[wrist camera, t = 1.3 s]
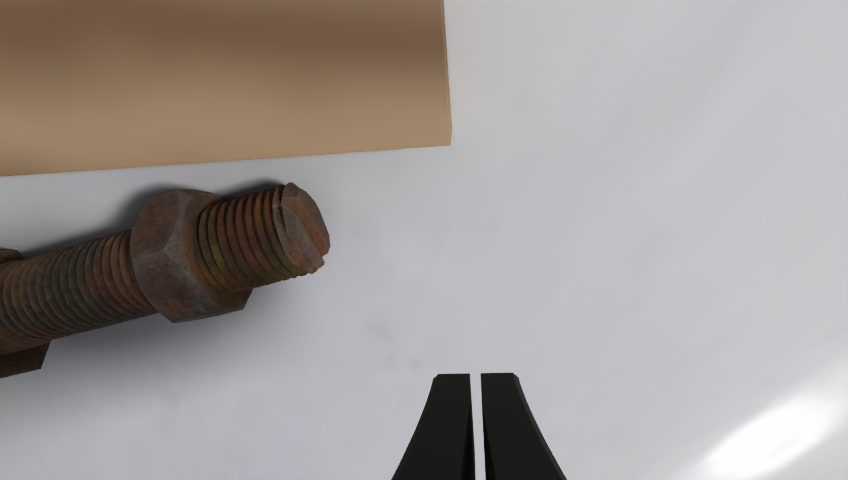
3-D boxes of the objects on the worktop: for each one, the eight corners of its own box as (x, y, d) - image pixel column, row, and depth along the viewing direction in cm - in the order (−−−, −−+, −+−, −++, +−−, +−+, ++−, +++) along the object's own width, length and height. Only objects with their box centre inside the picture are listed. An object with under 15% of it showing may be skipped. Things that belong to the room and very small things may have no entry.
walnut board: (451, 129, 17) (450, 146, 15) (-156, 173, 19) (-223, 192, 17) (432, -166, 13) (427, -194, 11) (-308, -63, 16) (-414, -72, 14)
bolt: (343, 203, 20) (46, 285, 23) (281, 114, 16) (-72, 226, 19) (345, 330, 17) (-3, 411, 19) (269, 258, 13) (-159, 372, 15)
